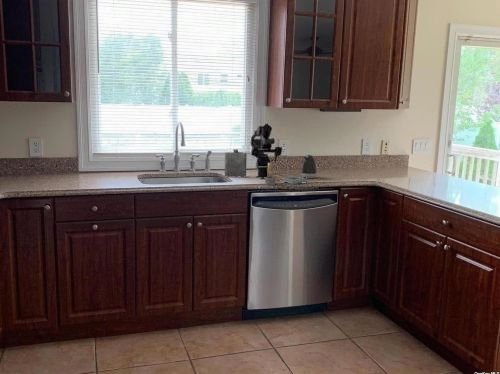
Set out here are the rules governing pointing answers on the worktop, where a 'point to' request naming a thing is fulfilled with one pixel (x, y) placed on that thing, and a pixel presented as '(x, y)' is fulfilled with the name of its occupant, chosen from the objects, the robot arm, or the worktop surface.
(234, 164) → the flask
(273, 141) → the robot arm
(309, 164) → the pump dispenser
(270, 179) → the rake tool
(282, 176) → the slot board
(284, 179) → the tray
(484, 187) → the worktop surface
